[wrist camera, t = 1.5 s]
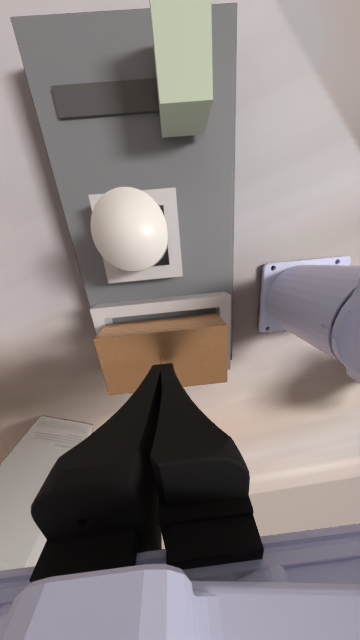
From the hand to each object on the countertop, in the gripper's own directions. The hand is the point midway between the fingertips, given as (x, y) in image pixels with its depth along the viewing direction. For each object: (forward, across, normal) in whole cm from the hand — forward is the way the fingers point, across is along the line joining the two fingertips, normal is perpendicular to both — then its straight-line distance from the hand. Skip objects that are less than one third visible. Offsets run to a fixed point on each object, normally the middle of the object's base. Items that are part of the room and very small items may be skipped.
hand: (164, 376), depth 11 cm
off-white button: (+5, +1, -9) cm, 10 cm away
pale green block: (+7, -3, -18) cm, 20 cm away
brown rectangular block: (+5, 0, 0) cm, 5 cm away
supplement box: (+10, +17, +16) cm, 25 cm away
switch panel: (+9, 0, -9) cm, 13 cm away
